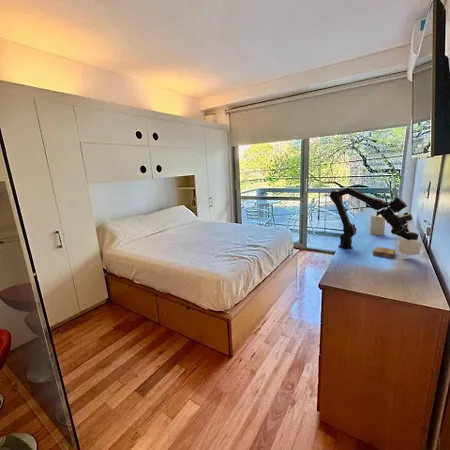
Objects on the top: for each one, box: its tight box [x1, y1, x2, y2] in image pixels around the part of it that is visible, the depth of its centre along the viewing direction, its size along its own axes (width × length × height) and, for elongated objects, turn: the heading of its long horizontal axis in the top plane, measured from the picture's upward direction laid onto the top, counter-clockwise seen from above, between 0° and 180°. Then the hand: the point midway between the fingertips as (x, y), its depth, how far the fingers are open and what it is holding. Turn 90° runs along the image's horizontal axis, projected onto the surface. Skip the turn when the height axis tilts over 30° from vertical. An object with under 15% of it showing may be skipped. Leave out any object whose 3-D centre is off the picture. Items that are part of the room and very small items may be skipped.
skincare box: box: [369, 214, 386, 236], centre depth 189 cm, size 8×6×15 cm
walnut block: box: [372, 246, 396, 259], centre depth 149 cm, size 10×10×3 cm
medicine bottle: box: [398, 231, 422, 256], centre depth 140 cm, size 7×7×12 cm
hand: (410, 238), depth 139 cm, fingers closed on medicine bottle, 6 cm apart
